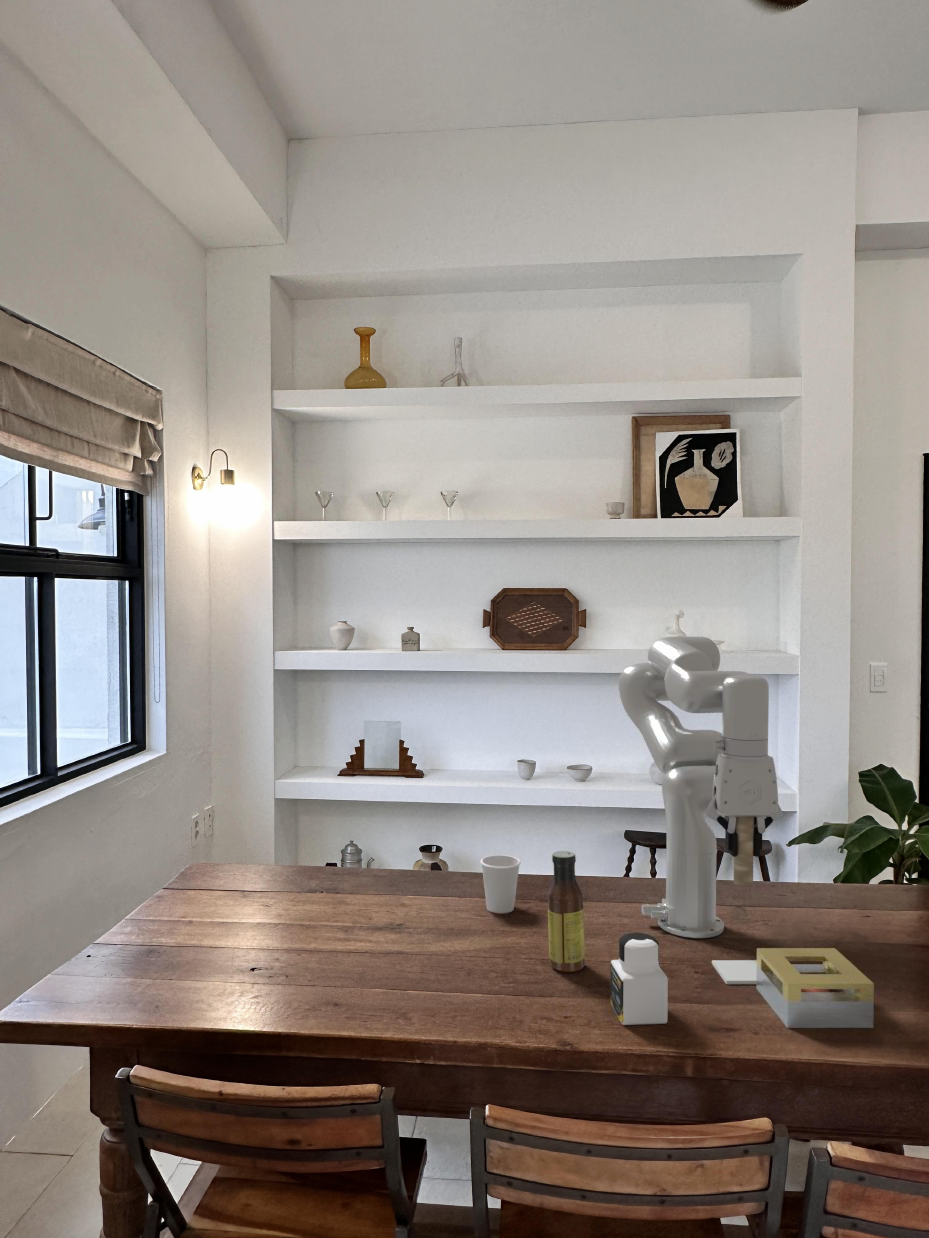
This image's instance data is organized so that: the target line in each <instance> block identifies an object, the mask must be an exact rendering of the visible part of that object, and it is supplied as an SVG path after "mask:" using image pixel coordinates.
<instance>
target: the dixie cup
mask: <svg viewBox="0 0 929 1238" xmlns="http://www.w3.org/2000/svg"><path fill="white" fill-rule="evenodd" d="M480 864H481V867H482V868H481V869H482V876H483V877H482V878H483V887H484V895H485V904H486V910H487V911H488V912H491V913H494V914H508V913H511V912H512V911H514V910H515V903H516V894H517V888H518V887H517V885H518V878H519V869H520V865H521V860H520V859H519V858H517V857H515V856H512V855H507V854H506V855H505V854H493V855H487V856H484V857H483V858H481V860H480Z"/></svg>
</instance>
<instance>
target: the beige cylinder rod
mask: <svg viewBox="0 0 929 1238" xmlns="http://www.w3.org/2000/svg"><path fill="white" fill-rule="evenodd" d="M735 833H737V834H738V856H736V857H733V884H734V885H736V886H739V887H742V888H743V887H746V888H747V887H752V886H754V817H736V824H735Z"/></svg>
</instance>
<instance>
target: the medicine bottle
mask: <svg viewBox="0 0 929 1238" xmlns="http://www.w3.org/2000/svg"><path fill="white" fill-rule="evenodd" d="M618 940H619V941H618V946H619V947H618V959H612V960H611V961H610V1000H609V1001H610V1005H611V1006H612V1008H613V1011H614V1012H615V1014H616V1016H617V1018H618V1020H619V1022H620V1023H621V1024H622V1025H623V1026H631V1025H632V1026H634V1025H636V1026H637V1025H639V1026H640V1025H658V1024H659V1025H660V1024H661V1025H662V1024H663V1025H664V1024H665V1025H666V1024H667V1023H668V1009H669V1008H668V1001H669V999H668V995H669V994H668V993H669V989H668V988H669V987H668V986H669V984H668V983H669V978H668V977H667V975H666V974H665V973H664V971H663V970H662V969H661V967H660V965H659V962H660V960H659V957H660V956H659V955H660V953H659V952H660V951H659V948H660V943H659V941H658V940H657V938H656V937H654V936H652V935H650V934H647V933H644V932H639V931H638V932H629V933H625V934H623V935H621V936H620V938H619V939H618Z"/></svg>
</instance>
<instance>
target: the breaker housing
mask: <svg viewBox="0 0 929 1238" xmlns="http://www.w3.org/2000/svg"><path fill="white" fill-rule="evenodd" d="M756 960H757V977H756V984H755V985H756V987H755V988H756V991H758V992H759V994H760V995H761V996H762V997H763V999H764V1000H765V1001H766V1002H767V1004H768V1005H769V1007H770V1008H771V1009H772V1010H773V1011H774V1013H775V1014H776V1015H777V1017H778V1018H779V1020H781V1022H782V1023H783V1025H784V1026H785V1027H786V1028H787V1029H793V1028H794V1029H829V1028H830V1029H838V1028H839V1029H852V1028H853V1029H857V1028H858V1029H863V1028H864V1029H871V1028H872V1029H873V1028H874V1012H875V1011H874V1010H875V1009H874V1005H875V1004H874V1001H875V1000H874V999H875V998H874V996H875V994H874V993H875V984H874V982H872V980H871V979H870V978H868V977H867V976H866V975H865V974H864V973H863V972H862V971H860V970H859V969H858V968H857V967H856V966H855V965H854V963H852V962H851V961H850V960H848V959H847V958H846V956H844V955H843V954H842V953H841V952H840V951H839V950H837V949H836V948H835V947H827V948H826V947H818V948H817V947H815V948H814V947H806V948H805V947H804V948H803V947H794V948H793V947H792V948H791V947H789V948H788V947H786V948H785V947H770V948H769V947H767V948H766V947H761V948H760V947H758V948H756ZM791 962H822V963H821V964H819V963H818V964H817V963H815V964H814V963H813V964H812V963H811V964H810V963H809V964H806V963H805V964H803V963H801V964H799V963H798V964H797V963H796V964H795V963H793V964H792V963H791ZM801 989H829V992H801Z"/></svg>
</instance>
